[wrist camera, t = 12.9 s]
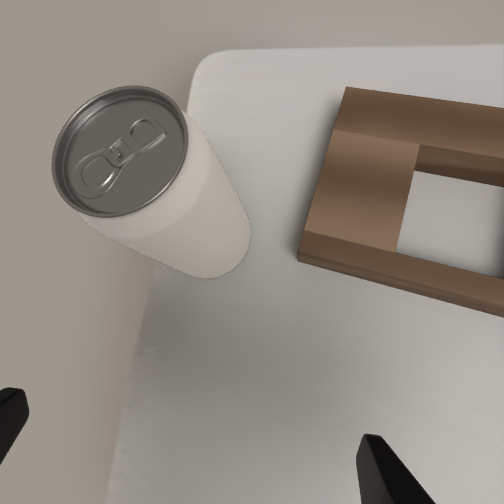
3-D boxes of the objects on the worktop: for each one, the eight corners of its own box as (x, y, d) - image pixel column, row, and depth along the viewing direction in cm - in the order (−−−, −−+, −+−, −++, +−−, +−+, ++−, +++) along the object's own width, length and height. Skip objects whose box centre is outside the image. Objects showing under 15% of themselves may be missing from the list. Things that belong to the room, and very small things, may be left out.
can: (154, 235, 24) (14, 149, 12) (216, 181, 24) (136, 48, 13) (203, 298, 22) (93, 265, 11) (270, 239, 22) (234, 143, 11)
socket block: (604, 345, 17) (664, 348, 15) (298, 261, 21) (297, 251, 19) (621, 160, 20) (676, 131, 17) (340, 115, 24) (345, 86, 21)
